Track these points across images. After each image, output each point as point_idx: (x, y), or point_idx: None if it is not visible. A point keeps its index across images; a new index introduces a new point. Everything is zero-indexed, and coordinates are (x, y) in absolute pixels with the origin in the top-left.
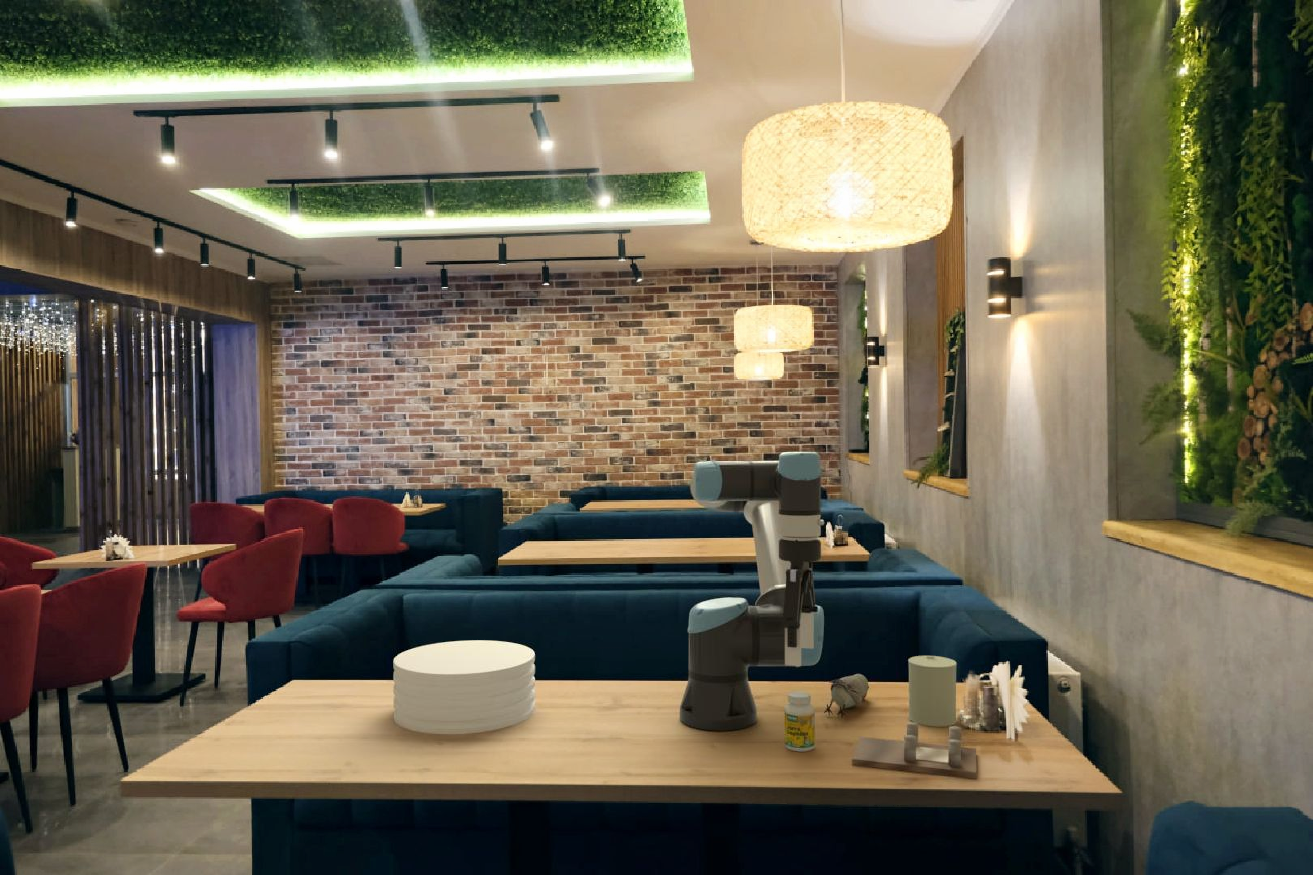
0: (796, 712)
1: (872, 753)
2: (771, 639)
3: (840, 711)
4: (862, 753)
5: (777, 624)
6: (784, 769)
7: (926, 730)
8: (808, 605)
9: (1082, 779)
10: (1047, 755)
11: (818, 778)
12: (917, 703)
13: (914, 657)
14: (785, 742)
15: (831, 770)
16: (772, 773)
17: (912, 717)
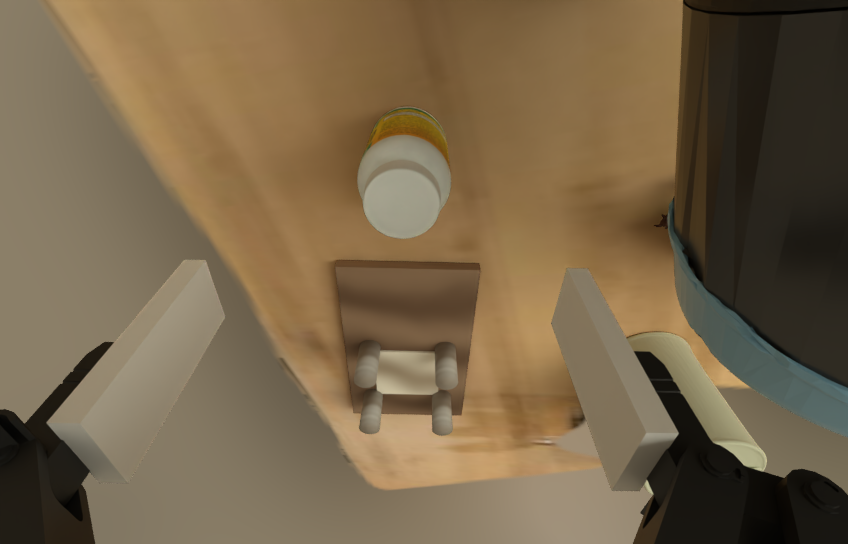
0: (358, 183)
1: (382, 296)
2: (713, 112)
3: (663, 221)
4: (376, 281)
5: (823, 186)
6: (240, 131)
7: None
8: (639, 541)
9: (401, 479)
10: (479, 463)
11: (230, 209)
12: None
13: (752, 450)
14: (388, 113)
15: (288, 227)
16: (198, 106)
17: (630, 344)
